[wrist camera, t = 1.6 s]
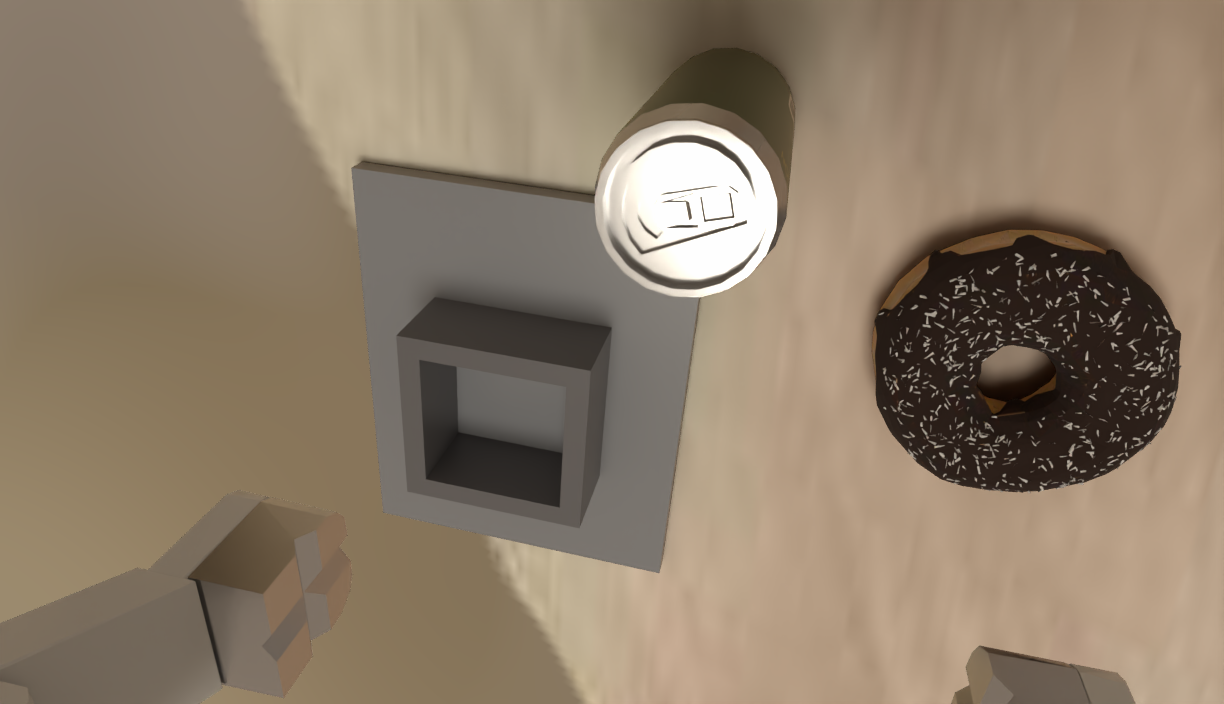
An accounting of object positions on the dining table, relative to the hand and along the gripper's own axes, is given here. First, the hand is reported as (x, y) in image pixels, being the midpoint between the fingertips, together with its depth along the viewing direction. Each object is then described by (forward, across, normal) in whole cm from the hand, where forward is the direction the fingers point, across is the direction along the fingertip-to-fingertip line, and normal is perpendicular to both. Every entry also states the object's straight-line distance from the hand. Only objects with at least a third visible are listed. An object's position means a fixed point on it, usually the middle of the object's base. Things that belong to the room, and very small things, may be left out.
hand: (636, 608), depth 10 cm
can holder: (+25, +9, +13) cm, 30 cm away
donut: (+25, -12, +7) cm, 29 cm away
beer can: (+25, +1, -1) cm, 25 cm away
